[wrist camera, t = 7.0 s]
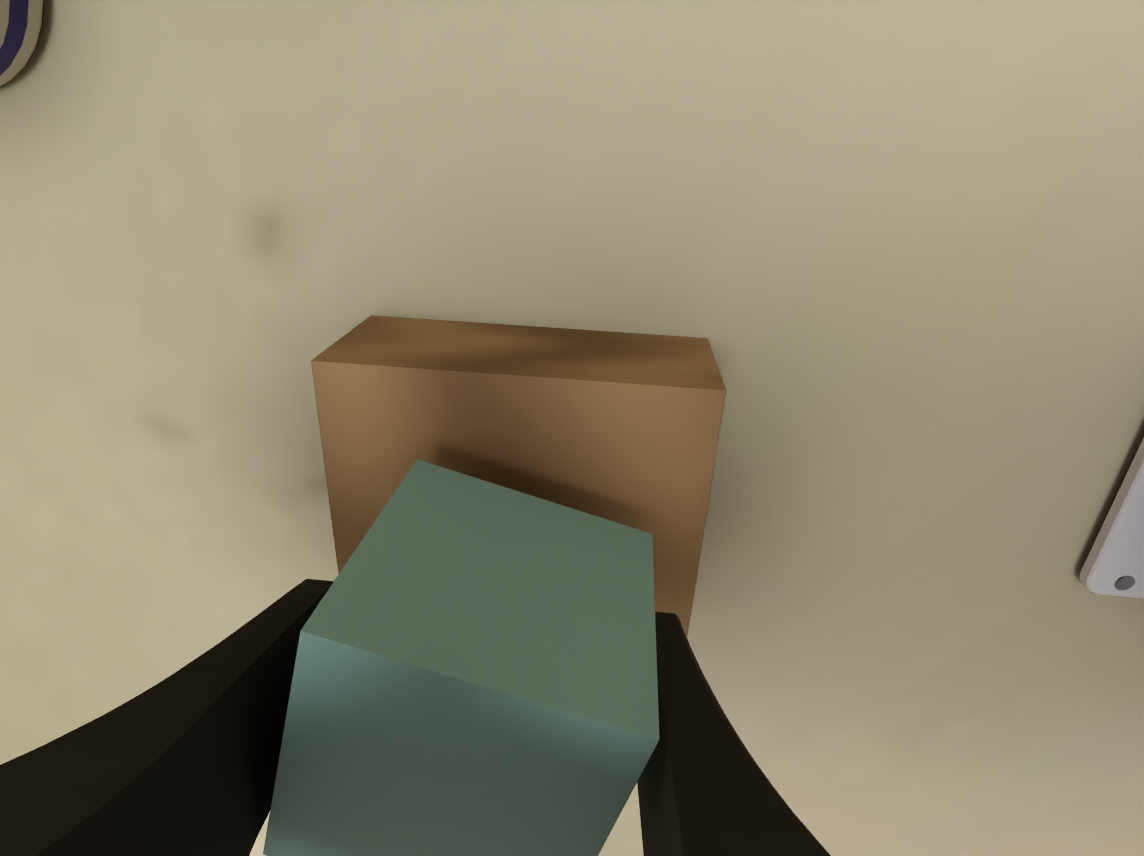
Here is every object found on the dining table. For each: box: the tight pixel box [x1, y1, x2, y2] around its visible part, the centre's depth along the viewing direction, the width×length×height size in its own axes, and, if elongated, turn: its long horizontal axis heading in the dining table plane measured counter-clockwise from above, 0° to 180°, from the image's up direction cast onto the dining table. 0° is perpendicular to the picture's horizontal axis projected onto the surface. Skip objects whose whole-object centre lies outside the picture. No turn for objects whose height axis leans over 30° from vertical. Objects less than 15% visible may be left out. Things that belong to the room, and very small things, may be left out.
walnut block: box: [311, 316, 726, 638], centre depth 18 cm, size 9×9×4 cm
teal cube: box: [263, 459, 659, 856], centre depth 13 cm, size 5×5×5 cm
